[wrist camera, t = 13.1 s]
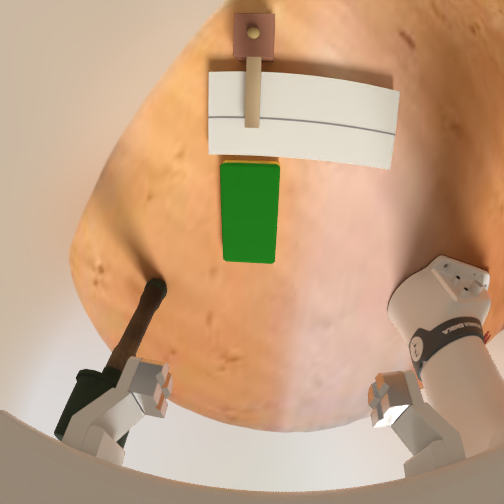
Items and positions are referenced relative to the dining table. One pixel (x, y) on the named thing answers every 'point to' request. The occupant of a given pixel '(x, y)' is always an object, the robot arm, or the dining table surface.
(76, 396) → the potato masher grenade
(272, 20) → the block
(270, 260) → the dish sponge
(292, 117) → the board
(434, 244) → the dining table surface
